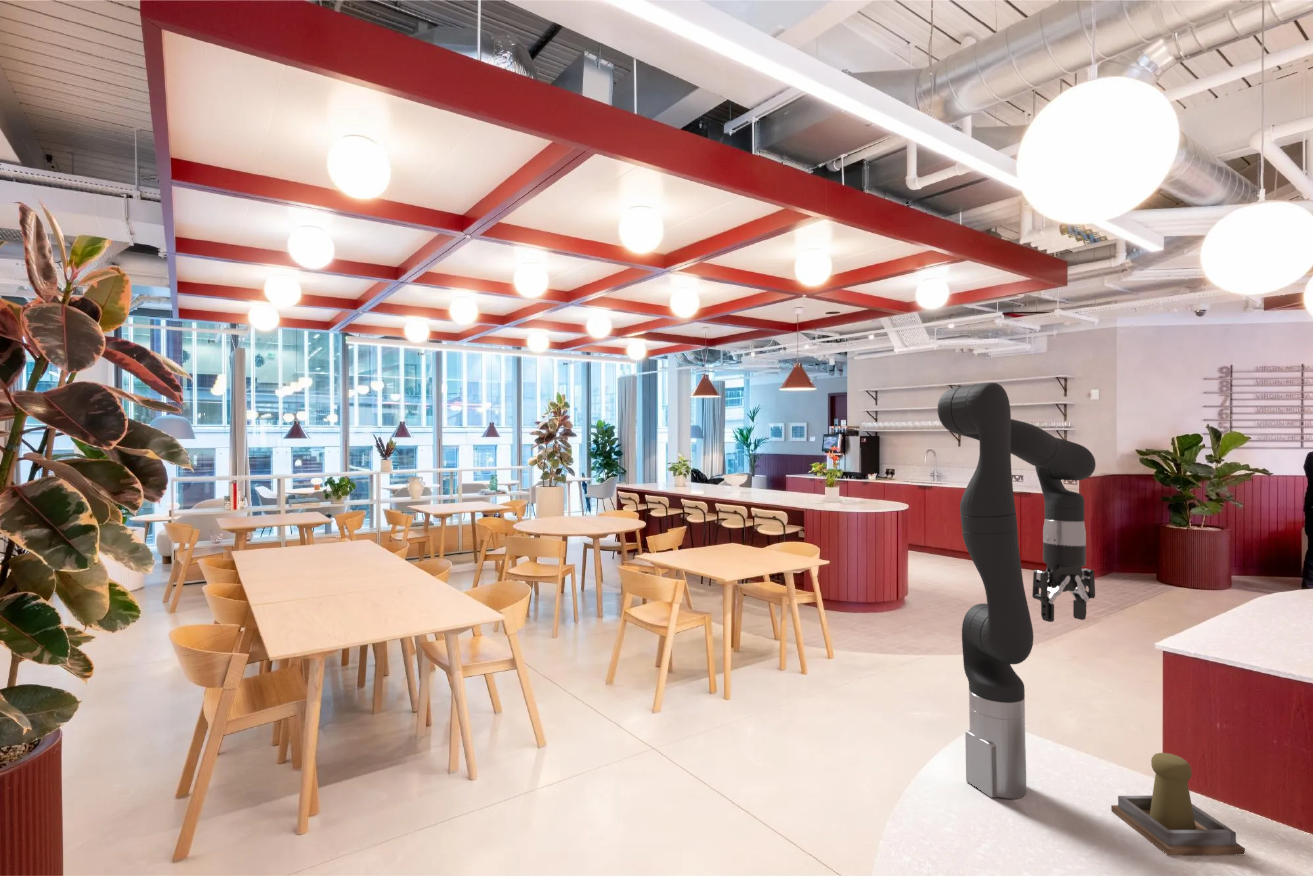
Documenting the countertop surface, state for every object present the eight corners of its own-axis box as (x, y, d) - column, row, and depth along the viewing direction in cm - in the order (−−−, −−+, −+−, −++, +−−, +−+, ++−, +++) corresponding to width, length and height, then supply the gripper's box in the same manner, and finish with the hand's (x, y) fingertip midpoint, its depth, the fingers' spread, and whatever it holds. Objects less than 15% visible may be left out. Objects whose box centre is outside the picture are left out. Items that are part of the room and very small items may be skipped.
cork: (1205, 836, 100) (1203, 767, 101) (1162, 832, 101) (1161, 764, 102) (1181, 815, 106) (1180, 749, 106) (1141, 811, 107) (1139, 746, 108)
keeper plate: (1167, 855, 97) (1167, 836, 97) (1111, 811, 109) (1111, 793, 109) (1245, 854, 97) (1244, 835, 97) (1180, 810, 109) (1179, 793, 109)
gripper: (1053, 545, 126) (1053, 626, 125) (1107, 543, 130) (1107, 622, 129) (1022, 540, 133) (1021, 617, 132) (1073, 539, 137) (1073, 613, 137)
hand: (1063, 620), depth 131 cm, fingers open, 8 cm apart
